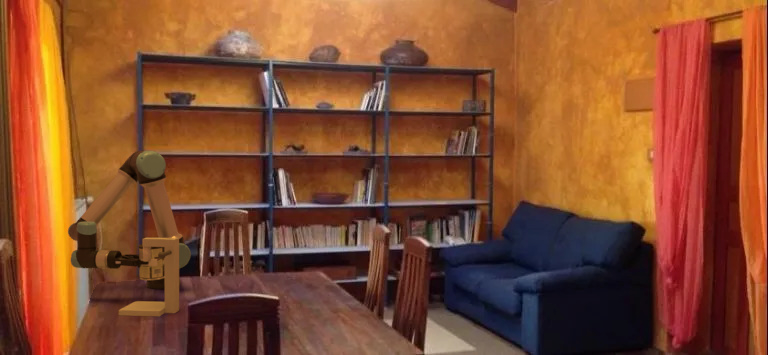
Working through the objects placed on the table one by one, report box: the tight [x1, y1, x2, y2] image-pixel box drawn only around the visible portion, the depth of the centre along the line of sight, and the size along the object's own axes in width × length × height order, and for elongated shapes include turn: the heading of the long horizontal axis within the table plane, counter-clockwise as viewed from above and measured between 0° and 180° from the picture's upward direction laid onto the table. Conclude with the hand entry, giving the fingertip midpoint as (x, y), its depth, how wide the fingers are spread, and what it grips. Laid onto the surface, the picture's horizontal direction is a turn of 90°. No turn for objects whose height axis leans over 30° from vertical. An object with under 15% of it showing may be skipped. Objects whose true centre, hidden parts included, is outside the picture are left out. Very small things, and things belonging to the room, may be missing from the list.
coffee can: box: [138, 243, 165, 281], centre depth 291 cm, size 10×10×14 cm
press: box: [118, 237, 180, 317], centre depth 274 cm, size 20×20×29 cm
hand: (161, 260), depth 291 cm, fingers closed on coffee can, 10 cm apart
